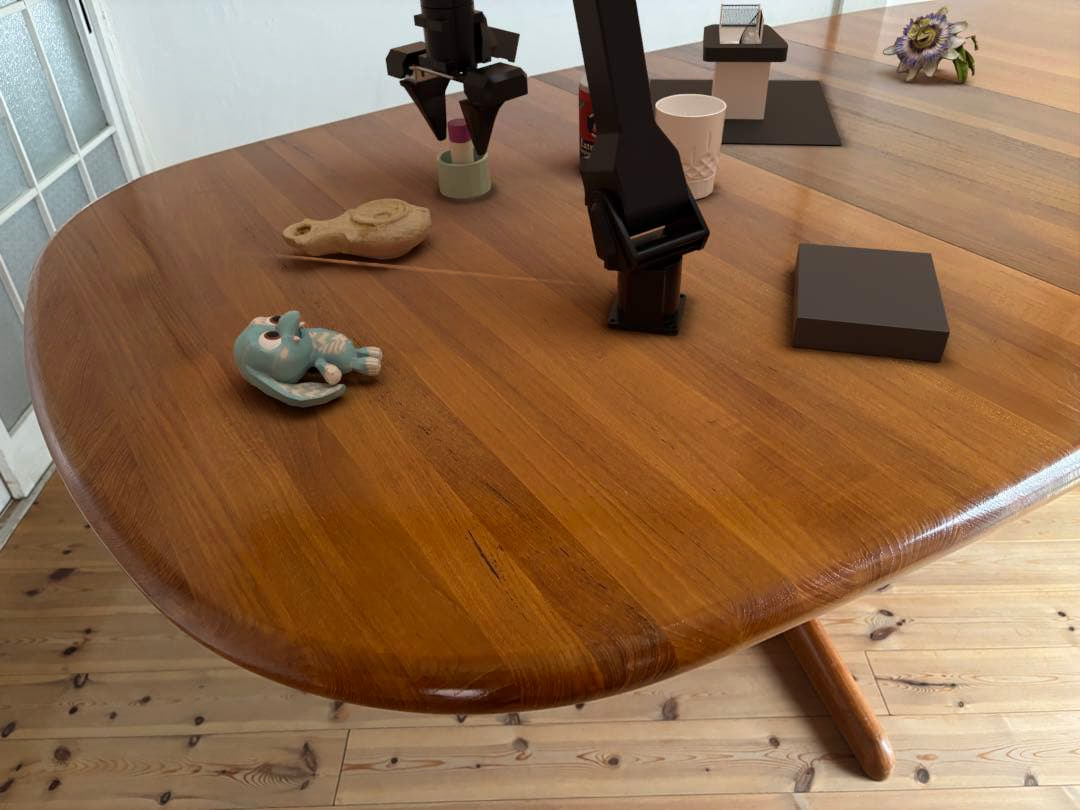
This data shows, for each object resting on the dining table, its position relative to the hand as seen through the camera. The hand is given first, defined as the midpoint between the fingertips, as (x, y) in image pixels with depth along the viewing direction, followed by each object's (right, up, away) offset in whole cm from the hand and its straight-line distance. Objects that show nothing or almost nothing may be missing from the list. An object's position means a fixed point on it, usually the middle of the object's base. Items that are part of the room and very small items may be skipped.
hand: (461, 147), depth 97 cm
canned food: (+18, -1, +7) cm, 20 cm away
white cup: (+27, -5, +1) cm, 27 cm away
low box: (+39, -22, -22) cm, 49 cm away
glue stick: (0, -4, +3) cm, 5 cm away
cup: (0, -4, +3) cm, 6 cm away
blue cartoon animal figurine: (-10, -28, -27) cm, 40 cm away
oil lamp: (-9, -15, -9) cm, 20 cm away
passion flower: (+70, +21, +32) cm, 80 cm away
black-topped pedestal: (+38, +13, +23) cm, 46 cm away
